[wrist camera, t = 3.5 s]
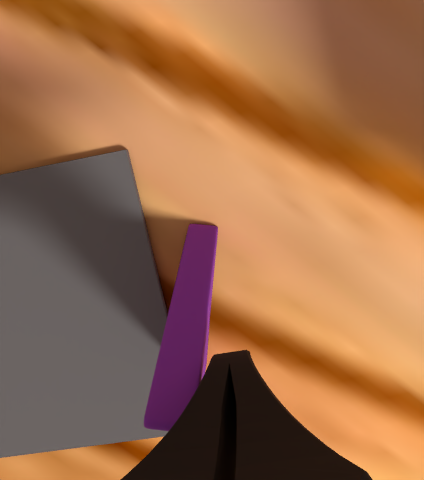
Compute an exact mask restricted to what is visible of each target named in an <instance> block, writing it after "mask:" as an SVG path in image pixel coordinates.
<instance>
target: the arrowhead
mask: <svg viewBox="0 0 424 480" xmlns="http://www.w3.org/2000/svg"><path fill="white" fill-rule="evenodd" d="M217 234H218V227H217V226H212V225H201V224H190V225H189V227H188V231H187V235H186V239H185V244H184V248H183V252H182V256H181V261H180V265H179V269H178V273H177V278H176V282H175V286H174V291H173V295H172V299H171V303H170V308H169V312H168V316H167V320H166V325H165V329H164V333H163V338H162V342H161V346H160V350H159V355H158V359H157V363H156V368H155V372H154V376H153V380H152V385H151V389H150V393H149V398H148V402H147V406H146V411H145V416H144V427H145V428H147V429H153V430H162V431H169V430H170V429H171V428H172V426H173V425H174V424H175V422H176V421H177V420H178V418H179V417H180V415H181V414H182V412H183V411H184V409H185V408H186V406H187V405H188V403H189V401H190V400H191V398H192V397H193V395H194V393H195V391H196V389H197V388H198V386H199V384H200V382H201V380H202V378H203V376H204V374H205V369H206V362H207V349H208V335H209V320H210V308H211V298H212V287H213V277H214V266H215V255H216V245H217Z"/></svg>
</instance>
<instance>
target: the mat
mask: <svg viewBox="0 0 424 480" xmlns="http://www.w3.org/2000/svg"><path fill="white" fill-rule="evenodd" d="M167 316H168V313H167V309H166V305H165V301H164V297H163V292H162V288H161V284H160V280H159V276H158V272H157V268H156V264H155V259H154V255H153V251H152V247H151V243H150V239H149V235H148V231H147V227H146V222H145V218H144V214H143V210H142V206H141V202H140V198H139V194H138V189H137V185H136V181H135V177H134V173H133V169H132V165H131V161H130V157H129V152H128V150H121V151H116V152H111V153H106V154H102V155H97V156H92V157H87V158H82V159H77V160H72V161H67V162H62V163H57V164H52V165H47V166H42V167H37V168H32V169H27V170H22V171H17V172H12V173H7V174H2V175H0V458H2V457H10V456H18V455H25V454H33V453H41V452H48V451H56V450H64V449H71V448H79V447H87V446H94V445H102V444H110V443H117V442H125V441H132V440H140V439H148V438H155V437H163V436H165V435H166V434H167V433H168V431H162V430H153V429H147V428H145V427H144V416H145V411H146V406H147V402H148V398H149V393H150V389H151V385H152V380H153V376H154V372H155V368H156V363H157V359H158V355H159V350H160V346H161V342H162V338H163V333H164V329H165V325H166V320H167Z"/></svg>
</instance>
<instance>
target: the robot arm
mask: <svg viewBox="0 0 424 480" xmlns="http://www.w3.org/2000/svg"><path fill="white" fill-rule="evenodd" d="M121 480H372V478H371V477H370V476H369V474H368V473H367V472H366V471H365V470H363V469H361V468H360V467H358V466H357V465H355V464H353V463H352V462H350V461H348V460H347V459H345V458H343V457H342V456H340V455H339V454H338V453H336V452H335V451H333V450H332V449H331V448H329V447H328V446H327V445H325V444H324V443H323V442H322V441H320V440H319V439H318V438H317V437H316V436H314V435H313V434H312V433H311V432H310V431H308V430H307V429H306V428H305V427H304V426H303V425H302V424H301V423H300V422H299V421H297V420H296V419H295V418H294V417H293V416H292V415H291V413H290V412H289V411H288V410H287V409H286V408H285V407H284V406H283V405H282V404H281V402H280V401H279V400H278V399H277V398H276V396H275V395H274V394H273V393H272V391H271V390H270V389H269V387H268V386H267V384H266V383H265V381H264V380H263V378H262V377H261V375H260V374H259V372H258V370H257V368H256V367H255V365H254V363H253V361H252V358H251V355H250V352H249V351H247V350H242V351H236V352H229V353H222V354H216V355H214V356H213V357H212V358H211V361H210V363H209V366H208V368H207V370H206V372H205V374H204V376H203V378H202V380H201V382H200V384H199V386H198V388H197V389H196V391H195V393H194V395H193V397H192V398H191V400H190V401H189V403H188V405H187V406H186V408H185V409H184V411H183V412H182V414H181V415H180V417H179V418H178V420H177V421H176V422H175V424H174V425H173V426H172V428H171V429H170V430H169V431H168V433H167V434H166V435H165V436H164V437H163V439H162V440H161V441H160V442H159V443H158V444H157V445H156V446H155V447H154V449H153V450H152V451H151V452H150V453H149V454H148V455H147V456H146V457H145V458H144V459H143V460H142V461H141V462H140V463H139V464H138V465H137V466H136V467H134V468H133V469H132V470H131V471H130V472H129V473H128V474H127V475H126V476H124V477H123V478H122V479H121Z"/></svg>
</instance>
